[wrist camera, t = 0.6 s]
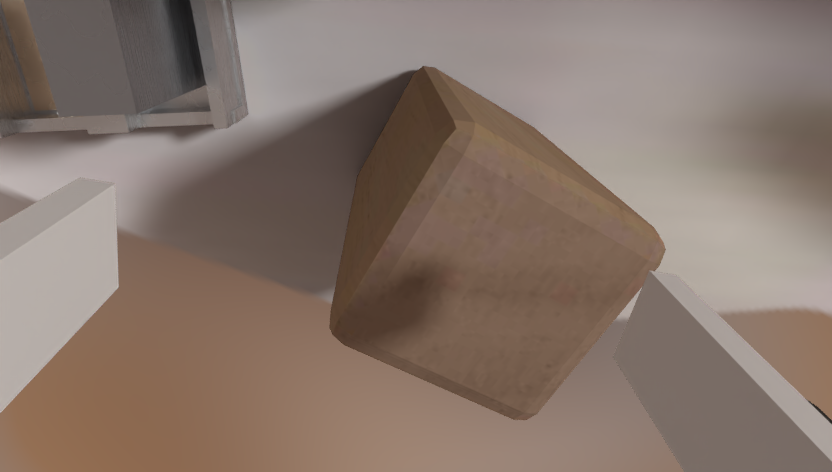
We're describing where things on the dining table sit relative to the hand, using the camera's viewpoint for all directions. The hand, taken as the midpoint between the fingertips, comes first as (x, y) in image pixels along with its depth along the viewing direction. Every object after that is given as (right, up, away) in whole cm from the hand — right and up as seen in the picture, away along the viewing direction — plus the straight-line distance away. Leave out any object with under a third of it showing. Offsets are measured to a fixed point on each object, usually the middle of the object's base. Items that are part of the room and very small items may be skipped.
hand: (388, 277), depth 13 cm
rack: (-19, +15, +20) cm, 31 cm away
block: (+3, +7, +25) cm, 26 cm away
